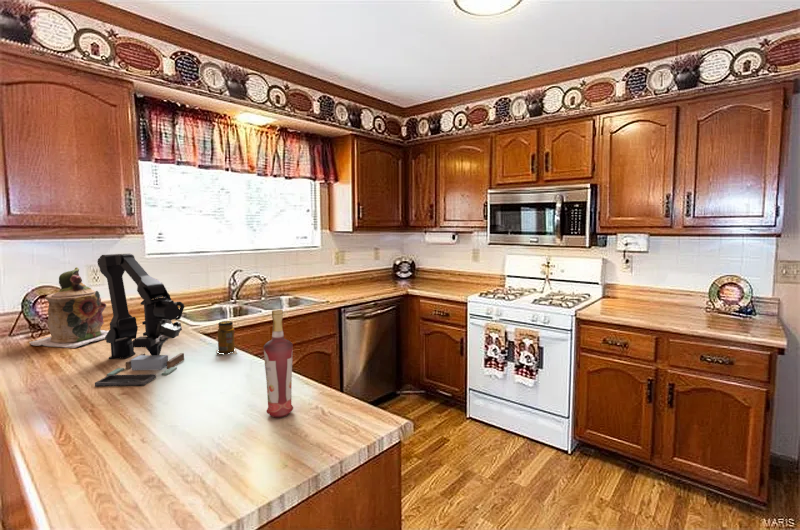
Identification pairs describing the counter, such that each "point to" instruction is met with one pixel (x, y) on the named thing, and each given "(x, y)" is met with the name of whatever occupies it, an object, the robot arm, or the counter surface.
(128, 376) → the tray
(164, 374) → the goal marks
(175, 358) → the brown wooden beams
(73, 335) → the cookie jar
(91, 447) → the counter surface
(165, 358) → the block
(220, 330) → the condiment
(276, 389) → the liquor
